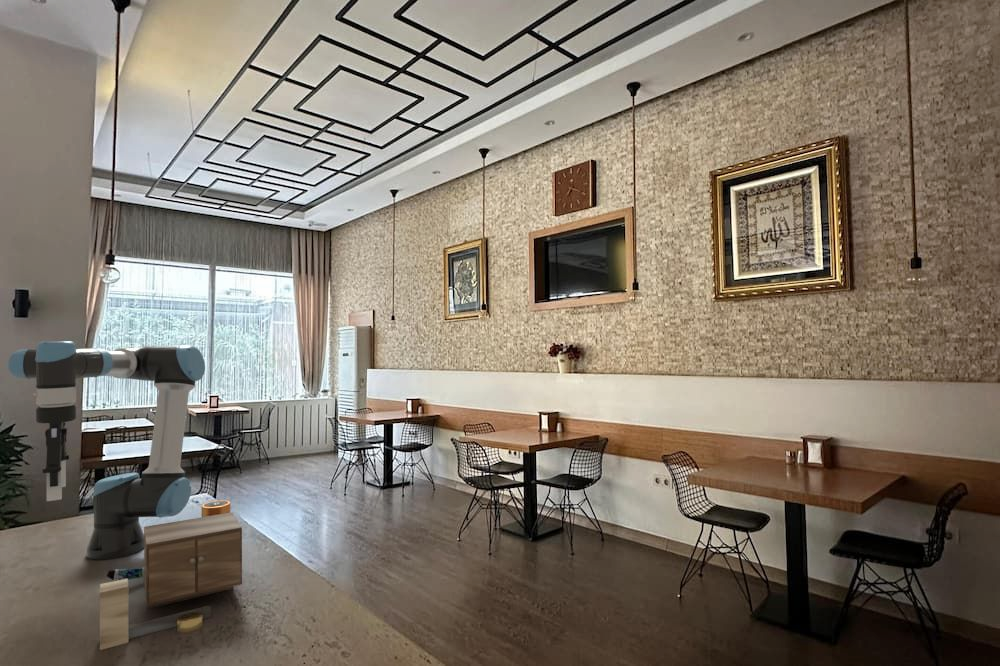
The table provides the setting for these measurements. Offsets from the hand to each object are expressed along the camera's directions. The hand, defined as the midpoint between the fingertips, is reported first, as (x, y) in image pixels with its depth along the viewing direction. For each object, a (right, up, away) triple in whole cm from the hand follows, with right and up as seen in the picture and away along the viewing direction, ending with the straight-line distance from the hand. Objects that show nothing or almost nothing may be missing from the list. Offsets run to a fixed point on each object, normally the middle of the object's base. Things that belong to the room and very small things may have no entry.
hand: (56, 493), depth 134 cm
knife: (+15, -29, +21) cm, 39 cm away
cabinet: (+31, -28, +4) cm, 42 cm away
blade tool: (+30, -28, -9) cm, 42 cm away
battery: (+28, -29, +20) cm, 45 cm away
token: (+37, -28, -9) cm, 47 cm away
